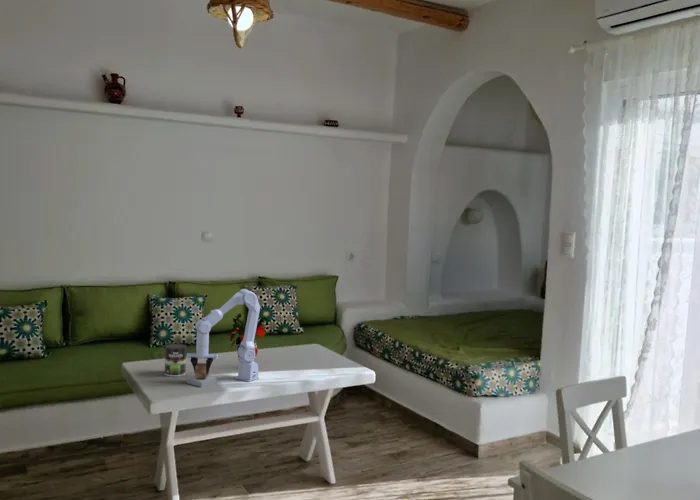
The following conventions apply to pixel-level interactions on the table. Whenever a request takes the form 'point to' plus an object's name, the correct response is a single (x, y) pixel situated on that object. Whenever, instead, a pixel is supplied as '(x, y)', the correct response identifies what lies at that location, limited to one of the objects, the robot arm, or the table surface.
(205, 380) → the pedestal
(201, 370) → the walnut block
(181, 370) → the coffee can
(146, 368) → the table surface
